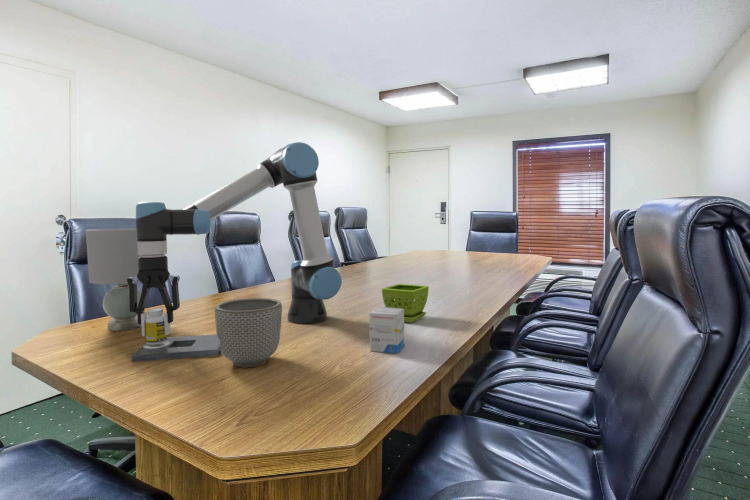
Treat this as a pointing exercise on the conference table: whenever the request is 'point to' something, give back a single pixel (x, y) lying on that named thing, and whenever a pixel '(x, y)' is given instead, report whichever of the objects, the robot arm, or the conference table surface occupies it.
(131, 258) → the lamp
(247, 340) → the planter
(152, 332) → the supplement bottle
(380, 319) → the ink box
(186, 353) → the housing plate
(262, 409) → the conference table surface
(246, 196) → the robot arm
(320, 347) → the conference table surface
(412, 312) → the flower pot
